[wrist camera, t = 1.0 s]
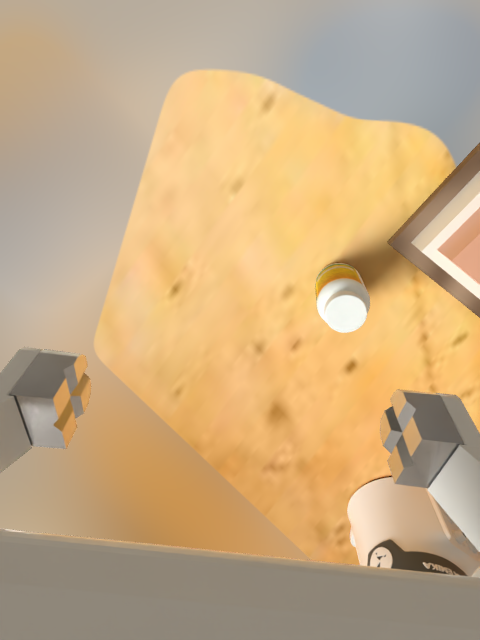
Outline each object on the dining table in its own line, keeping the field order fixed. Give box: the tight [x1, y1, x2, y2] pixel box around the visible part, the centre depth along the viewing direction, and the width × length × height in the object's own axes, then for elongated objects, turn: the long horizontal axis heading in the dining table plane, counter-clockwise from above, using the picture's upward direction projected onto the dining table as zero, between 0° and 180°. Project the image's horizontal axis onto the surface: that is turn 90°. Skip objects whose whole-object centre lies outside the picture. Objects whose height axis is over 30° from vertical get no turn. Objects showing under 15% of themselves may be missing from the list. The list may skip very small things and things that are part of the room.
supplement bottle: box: [315, 263, 370, 333], centre depth 41 cm, size 5×5×10 cm
